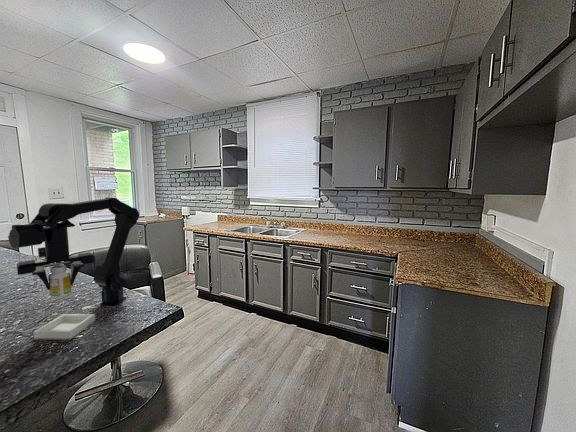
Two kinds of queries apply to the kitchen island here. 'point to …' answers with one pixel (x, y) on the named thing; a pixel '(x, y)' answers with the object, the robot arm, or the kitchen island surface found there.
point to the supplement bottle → (59, 281)
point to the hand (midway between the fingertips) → (60, 287)
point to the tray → (65, 326)
